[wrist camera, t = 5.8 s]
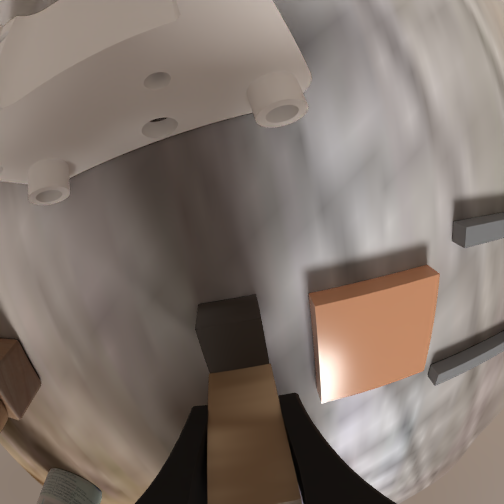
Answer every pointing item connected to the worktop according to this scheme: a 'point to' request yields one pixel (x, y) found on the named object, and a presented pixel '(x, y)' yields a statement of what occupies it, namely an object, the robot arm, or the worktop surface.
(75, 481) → the spray paint can
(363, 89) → the worktop surface
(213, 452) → the two-tone stacked blocks
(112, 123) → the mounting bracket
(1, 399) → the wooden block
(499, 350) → the frame
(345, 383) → the tile
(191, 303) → the worktop surface
